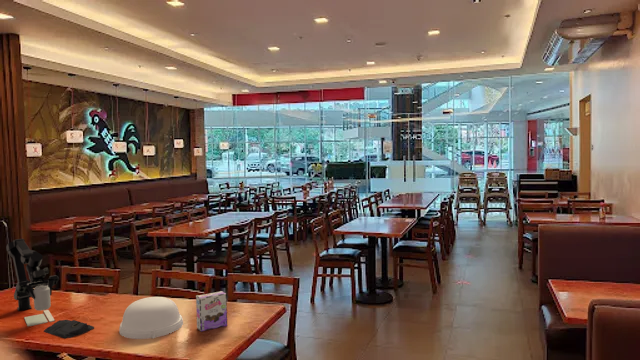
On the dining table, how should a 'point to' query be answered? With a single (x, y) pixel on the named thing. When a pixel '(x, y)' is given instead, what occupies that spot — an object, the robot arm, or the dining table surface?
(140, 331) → the dome cover
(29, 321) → the pad
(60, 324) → the dark slate chunk
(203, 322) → the candy box
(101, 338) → the dining table surface
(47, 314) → the strip
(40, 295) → the can
